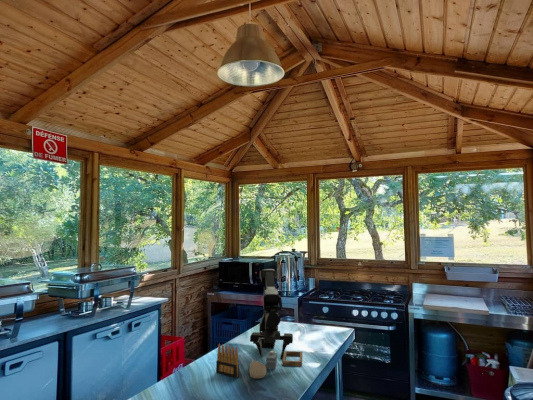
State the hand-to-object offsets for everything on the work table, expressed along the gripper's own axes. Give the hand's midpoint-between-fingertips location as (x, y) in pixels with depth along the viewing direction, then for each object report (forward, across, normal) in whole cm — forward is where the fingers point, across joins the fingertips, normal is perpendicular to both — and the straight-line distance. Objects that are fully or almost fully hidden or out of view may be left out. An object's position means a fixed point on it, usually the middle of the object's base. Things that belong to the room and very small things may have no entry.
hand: (271, 357), depth 164 cm
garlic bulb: (+4, -4, -15) cm, 16 cm away
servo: (+4, 0, 0) cm, 4 cm away
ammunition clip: (+4, -17, -13) cm, 22 cm away
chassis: (+3, +9, +8) cm, 12 cm away
